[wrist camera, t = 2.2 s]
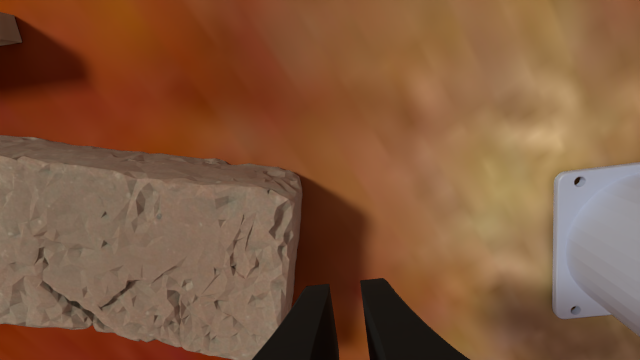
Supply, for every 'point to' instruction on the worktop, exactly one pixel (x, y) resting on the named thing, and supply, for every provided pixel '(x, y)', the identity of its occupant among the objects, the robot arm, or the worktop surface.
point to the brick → (146, 245)
